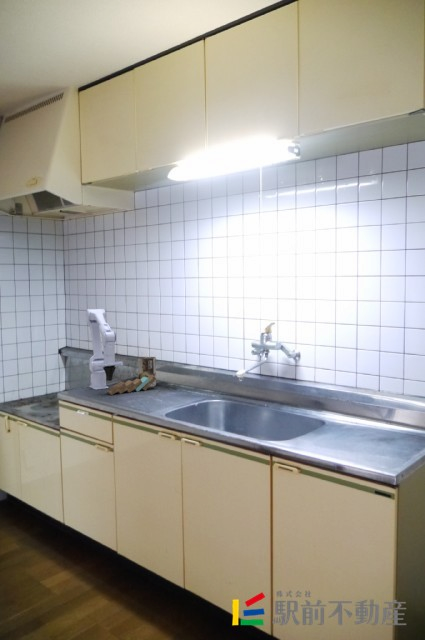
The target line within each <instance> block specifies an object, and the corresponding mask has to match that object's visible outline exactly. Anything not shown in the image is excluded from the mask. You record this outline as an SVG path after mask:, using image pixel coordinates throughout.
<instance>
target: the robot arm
mask: <svg viewBox="0 0 425 640" xmlns="http://www.w3.org/2000/svg"><path fill="white" fill-rule="evenodd" d="M85 311H86V312H85V320H86V321H85V322H86V325H87V326H89V328H90V335H91V343H92V350H93V351H92V352H93V355H92V356H91V357H90V358H89V365H88V366H89V367H88V369H89V371H90V373H91V374H90V385H89V388H91V389H93V390H104V389H109V388H110V387H109V386H107V381H113V380H112V379H113V375H114V373H115V371H116V368H117V367H119V366H124V362H123V361H116V353H115V352H116V351H115V350H116V348H115V345H116V344H115V343H116V342H117V333H116V331H115V330H112V328H111V327H110V325H109V323H108V322H106V316H107V315H106V310H105V309H104V308H97V309H96V308H87V309H86V310H85ZM102 346H103V349H102Z"/></svg>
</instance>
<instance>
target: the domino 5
mask: <svg viewBox="0 0 425 640" xmlns="http://www.w3.org/2000/svg"><path fill="white" fill-rule="evenodd" d="M147 378H148V379H149V380H150V381H149V382H148V383H147V384H146V385H145V386H144V387H143V388H141V389H140V390H143V391H146V390H148V388H150V387H149V386H150V385H151V384H152V383H153V382H154V381H155V379H156V380H157V377H156V378H155V376H153V375H149V376H148V377H147Z"/></svg>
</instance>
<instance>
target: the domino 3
mask: <svg viewBox="0 0 425 640" xmlns="http://www.w3.org/2000/svg"><path fill="white" fill-rule="evenodd" d="M132 381H133V383H134V385H133V386H132V387H130V388H129V389H127V390H126V391H125V392H126V393H132V392H133V391H135V390H134V389H135V388H136V387H138V386H139V385H140V384H142V381H141V380H140V379H138V378H135V379H134V380H132Z"/></svg>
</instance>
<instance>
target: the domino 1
mask: <svg viewBox="0 0 425 640" xmlns="http://www.w3.org/2000/svg"><path fill="white" fill-rule="evenodd" d="M124 387H126V385H125V382H124V381H123V382H122V381H119V382H118V383H116V384H114V385H113V386H111V387H109V388H107V390H106V393H107V394H108V395H111V396H113V395H114V394H116V393H117V392H118V391H119V390H121V389H122V388H124Z"/></svg>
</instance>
